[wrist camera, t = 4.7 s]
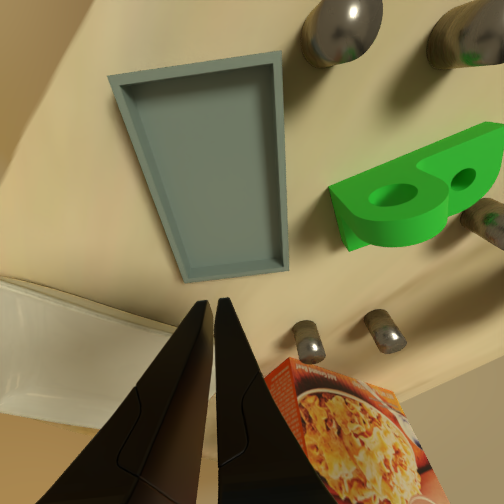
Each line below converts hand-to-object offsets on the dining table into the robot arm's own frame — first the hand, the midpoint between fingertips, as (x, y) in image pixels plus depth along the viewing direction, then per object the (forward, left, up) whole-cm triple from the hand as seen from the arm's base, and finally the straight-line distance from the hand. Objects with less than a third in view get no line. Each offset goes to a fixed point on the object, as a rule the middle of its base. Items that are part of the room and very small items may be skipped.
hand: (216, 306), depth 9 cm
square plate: (+19, +23, -14) cm, 33 cm away
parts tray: (0, 0, -13) cm, 13 cm away
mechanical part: (-15, +2, -13) cm, 20 cm away
